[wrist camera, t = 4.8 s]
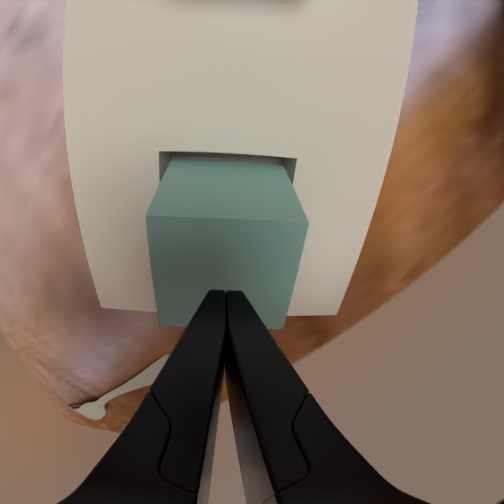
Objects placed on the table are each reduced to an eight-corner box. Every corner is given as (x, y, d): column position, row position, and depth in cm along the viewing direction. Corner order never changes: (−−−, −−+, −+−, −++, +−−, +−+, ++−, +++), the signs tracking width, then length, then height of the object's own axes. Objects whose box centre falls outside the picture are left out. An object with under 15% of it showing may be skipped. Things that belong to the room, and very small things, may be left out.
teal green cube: (283, 166, 11) (309, 222, 8) (269, 255, 13) (283, 329, 10) (170, 159, 10) (145, 215, 7) (173, 252, 13) (159, 325, 10)
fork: (195, 340, 26) (197, 366, 23) (81, 411, 30) (79, 430, 28) (171, 324, 24) (170, 350, 22) (62, 402, 29) (59, 420, 26)
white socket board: (383, -96, 6) (418, -118, 3) (321, 271, 18) (336, 314, 16) (129, -120, 4) (108, -149, 1) (117, 264, 17) (101, 307, 14)
